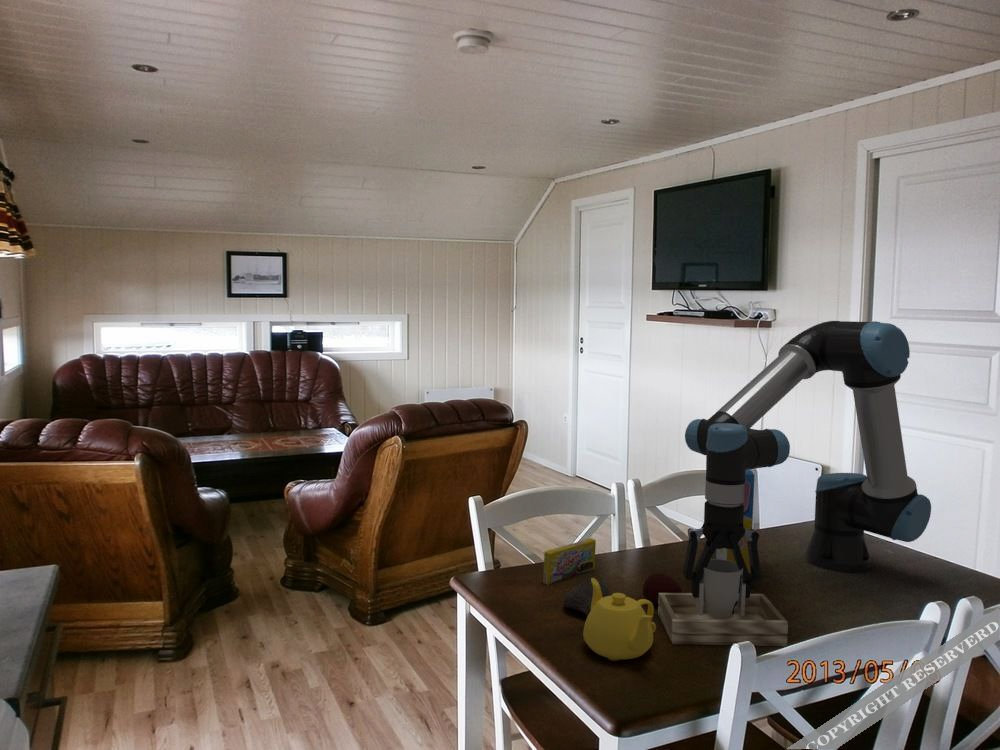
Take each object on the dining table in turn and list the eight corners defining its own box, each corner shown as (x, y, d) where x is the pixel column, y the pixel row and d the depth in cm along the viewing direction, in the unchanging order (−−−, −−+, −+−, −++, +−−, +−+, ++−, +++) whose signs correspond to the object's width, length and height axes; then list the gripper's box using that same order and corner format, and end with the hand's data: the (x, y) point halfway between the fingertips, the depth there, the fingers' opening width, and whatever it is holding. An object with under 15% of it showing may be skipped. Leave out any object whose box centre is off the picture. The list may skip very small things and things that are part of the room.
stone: (563, 633, 156) (591, 612, 150) (551, 594, 161) (578, 573, 155) (598, 631, 162) (626, 611, 156) (585, 594, 167) (612, 573, 161)
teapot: (687, 668, 135) (689, 607, 134) (617, 685, 129) (619, 621, 128) (625, 624, 153) (626, 570, 152) (561, 637, 147) (562, 581, 146)
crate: (762, 616, 158) (763, 593, 157) (786, 647, 144) (788, 622, 143) (658, 615, 158) (658, 592, 157) (672, 646, 144) (673, 621, 143)
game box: (750, 590, 172) (755, 474, 169) (725, 589, 173) (730, 473, 170) (737, 559, 192) (741, 455, 189) (715, 558, 193) (719, 455, 190)
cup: (745, 623, 146) (747, 574, 145) (702, 621, 147) (704, 572, 146) (736, 606, 154) (738, 559, 153) (696, 604, 155) (697, 558, 154)
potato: (680, 613, 159) (681, 582, 158) (640, 608, 162) (641, 577, 161) (683, 600, 166) (684, 570, 165) (644, 595, 169) (645, 565, 168)
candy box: (548, 588, 173) (549, 553, 172) (542, 585, 174) (542, 551, 174) (595, 571, 183) (596, 539, 182) (589, 569, 185) (589, 537, 184)
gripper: (769, 497, 152) (764, 605, 154) (668, 496, 152) (665, 604, 154) (783, 507, 144) (777, 621, 146) (676, 506, 144) (673, 620, 147)
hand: (719, 612), depth 150 cm, fingers closed on cup, 8 cm apart
